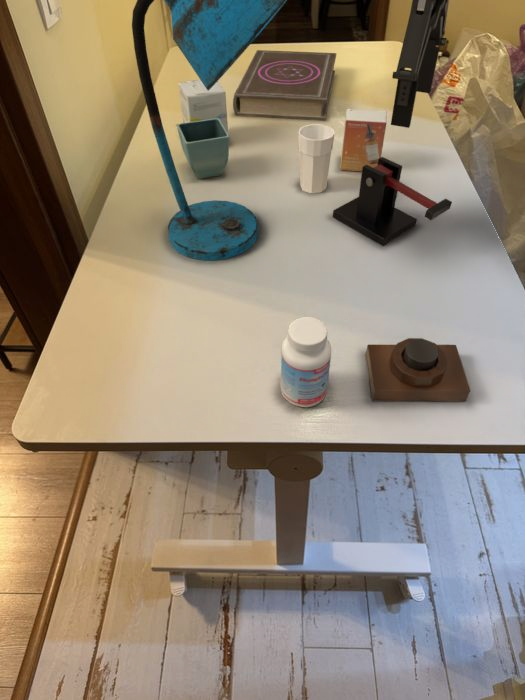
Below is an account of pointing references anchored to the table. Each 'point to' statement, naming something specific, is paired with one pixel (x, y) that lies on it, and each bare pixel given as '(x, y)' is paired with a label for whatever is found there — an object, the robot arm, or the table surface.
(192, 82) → the ink box
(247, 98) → the book
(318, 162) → the cup
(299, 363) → the pill bottle
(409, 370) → the block
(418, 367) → the bell button
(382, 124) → the small box
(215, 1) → the desk lamp
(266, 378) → the table surface
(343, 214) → the black lever stand
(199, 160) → the flower pot
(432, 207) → the red lever
